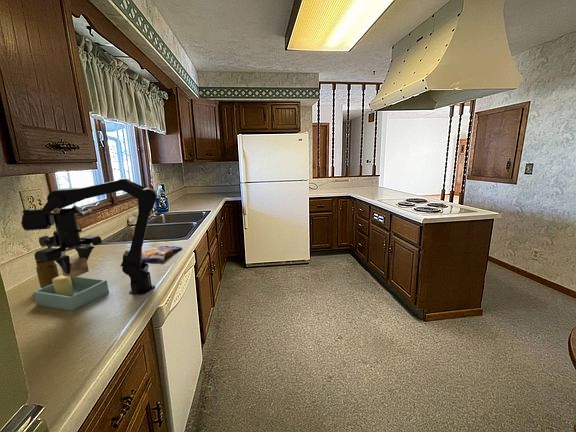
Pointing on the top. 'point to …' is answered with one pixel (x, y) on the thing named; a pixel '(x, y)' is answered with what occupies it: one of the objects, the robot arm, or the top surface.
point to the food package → (159, 253)
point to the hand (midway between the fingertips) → (75, 270)
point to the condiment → (46, 272)
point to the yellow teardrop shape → (63, 285)
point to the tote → (83, 294)
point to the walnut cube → (77, 267)
